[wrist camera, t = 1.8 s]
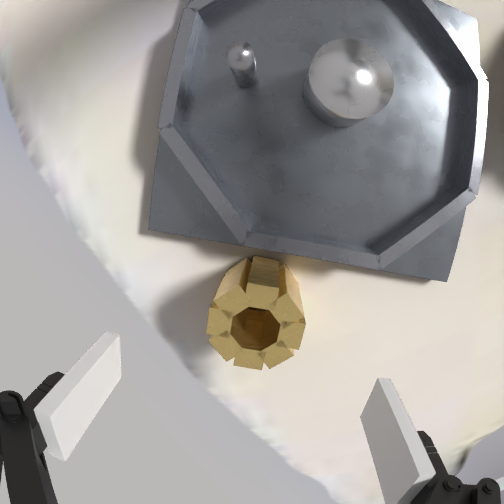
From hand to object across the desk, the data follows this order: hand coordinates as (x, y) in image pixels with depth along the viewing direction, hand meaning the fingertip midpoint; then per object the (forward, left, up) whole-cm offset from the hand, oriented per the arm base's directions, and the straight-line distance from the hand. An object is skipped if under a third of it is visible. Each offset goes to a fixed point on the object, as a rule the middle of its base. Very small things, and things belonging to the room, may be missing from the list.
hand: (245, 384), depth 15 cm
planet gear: (0, 0, -11) cm, 11 cm away
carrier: (-16, +3, -11) cm, 20 cm away
